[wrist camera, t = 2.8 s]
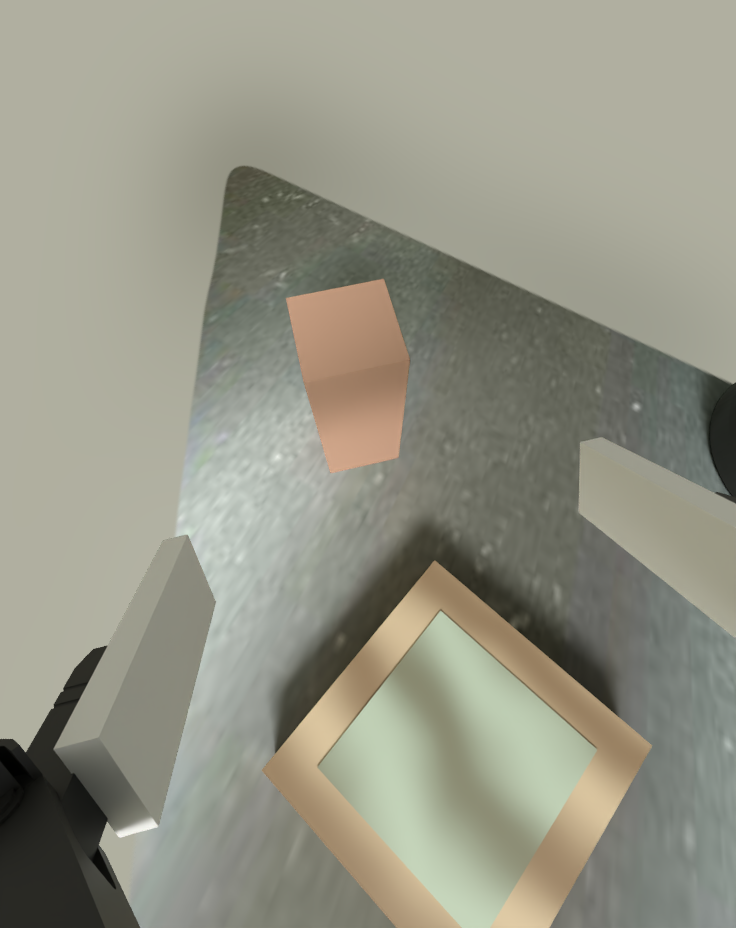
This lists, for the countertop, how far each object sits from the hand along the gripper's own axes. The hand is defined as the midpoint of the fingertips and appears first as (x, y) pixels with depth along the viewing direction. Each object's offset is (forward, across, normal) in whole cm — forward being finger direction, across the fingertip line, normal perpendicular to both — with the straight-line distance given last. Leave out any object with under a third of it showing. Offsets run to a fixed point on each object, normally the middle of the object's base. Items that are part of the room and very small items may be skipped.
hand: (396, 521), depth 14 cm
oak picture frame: (+4, +1, -17) cm, 18 cm away
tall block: (+18, 0, -3) cm, 18 cm away
